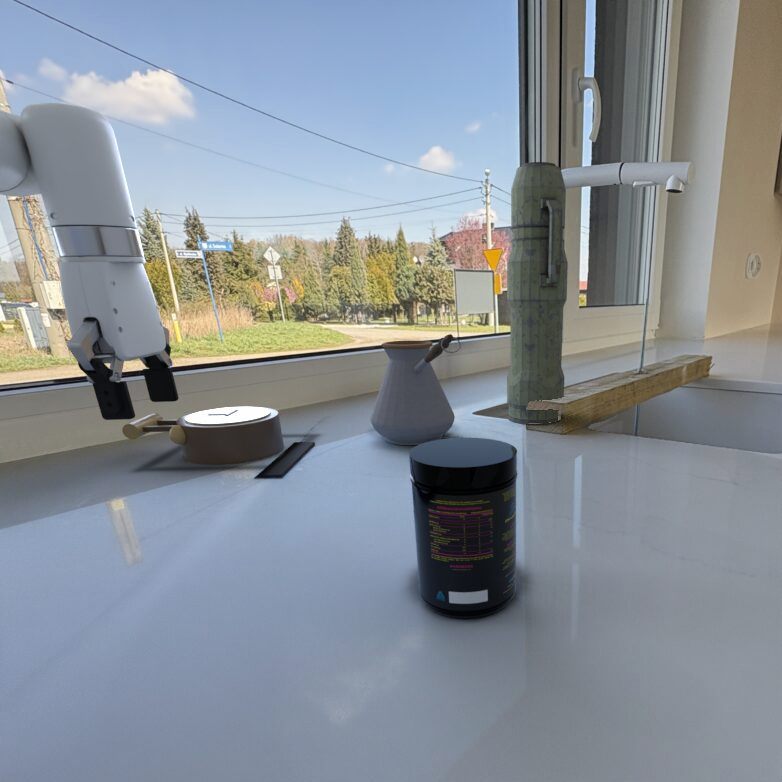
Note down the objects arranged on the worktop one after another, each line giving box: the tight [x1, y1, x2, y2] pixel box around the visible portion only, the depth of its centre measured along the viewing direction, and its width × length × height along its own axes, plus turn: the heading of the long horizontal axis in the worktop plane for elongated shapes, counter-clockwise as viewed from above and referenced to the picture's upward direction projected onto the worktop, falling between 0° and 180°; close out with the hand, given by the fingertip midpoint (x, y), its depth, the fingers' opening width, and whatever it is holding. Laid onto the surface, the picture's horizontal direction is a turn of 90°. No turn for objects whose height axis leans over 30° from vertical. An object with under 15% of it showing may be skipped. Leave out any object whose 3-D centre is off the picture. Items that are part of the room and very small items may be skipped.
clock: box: [121, 406, 285, 466], centre depth 68 cm, size 16×11×5 cm
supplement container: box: [408, 437, 518, 620], centre depth 37 cm, size 7×7×10 cm
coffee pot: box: [369, 333, 462, 446], centre depth 72 cm, size 21×12×15 cm, turn 28°
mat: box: [253, 441, 316, 479], centre depth 69 cm, size 15×14×1 cm
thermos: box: [506, 161, 569, 425], centre depth 84 cm, size 9×12×35 cm
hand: (143, 409), depth 66 cm, fingers open, 9 cm apart
